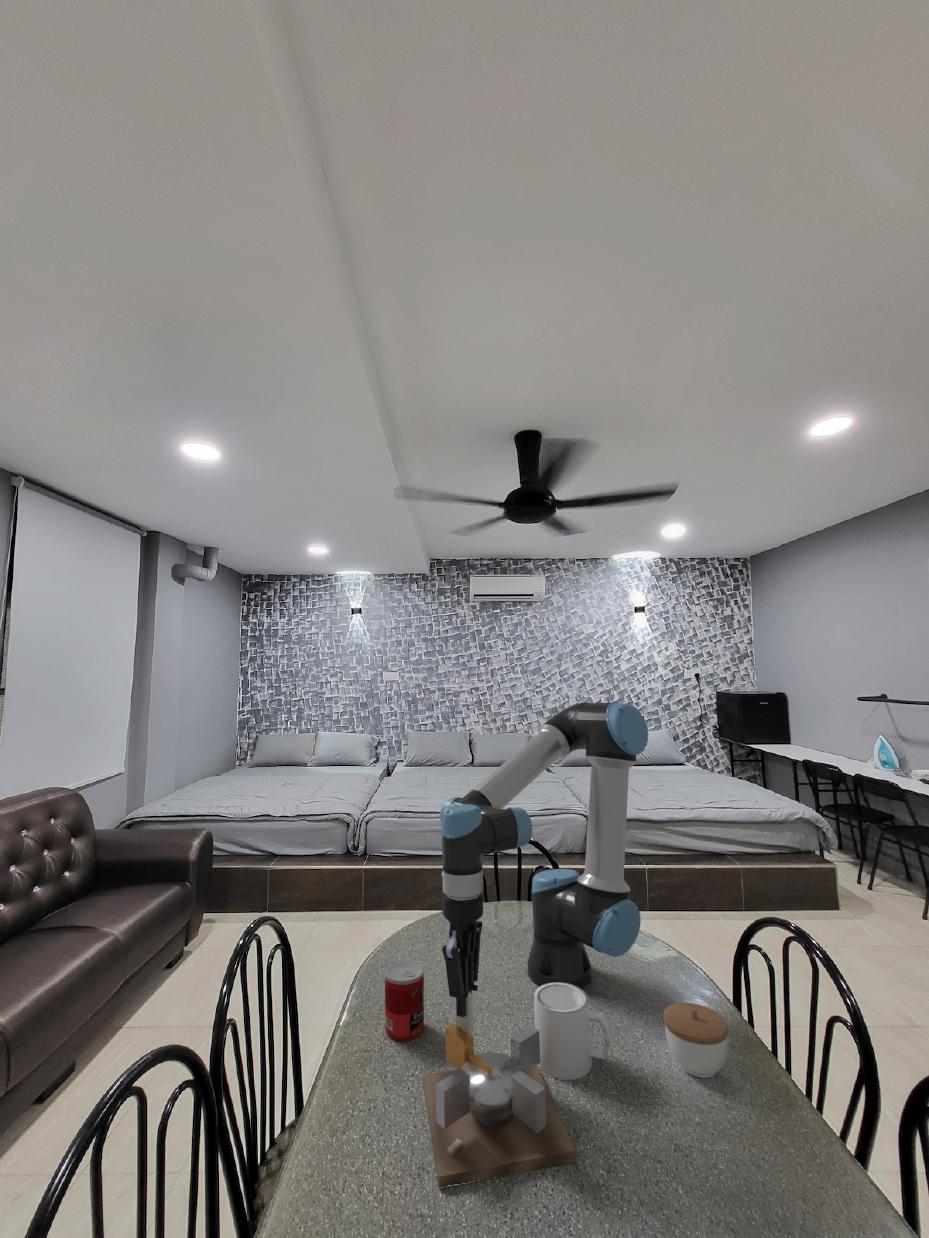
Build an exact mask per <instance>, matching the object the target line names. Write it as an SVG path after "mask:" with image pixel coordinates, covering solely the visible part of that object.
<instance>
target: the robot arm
mask: <svg viewBox="0 0 929 1238" xmlns="http://www.w3.org/2000/svg"><path fill="white" fill-rule="evenodd" d="M648 742H649V730H648V724H647V722H646V720H645V718H644V716H643V715H642V713H641V711H640V710H639V709H638V708H637V707H635V706H634V705H631V704H630V703H629V704H628V703H620V702H579V703H575V704H573V705H570V706H568V707H565V708H564V709H562V710H561V711H559V712H557V713H556V714H555V715H553V716H551V718H549V719H548V720H547V721H545V722H544V723H542V725H541V726H539V728H538V731H537V735H535V736H534V737H533V738H532V739H530V740H529V741H528V742H527V743H525V744H524V745H523V746H522V747H521V748H520V749H519V750H517V751H516V752H515V753H514V754H513V755H511V756H510V757H509V758H508V759H507V760H506V761H505V762H503V763H502V764H501V765H500V766H499V767H497V768H496V769H495V770H494V771H493V772H492V773H490V774H489V775H488V776H487V777H485V779H483V780H482V781H481V782H480V783H479V784H478V785H476V786H475V787H474V788H473V789H471V790H470V791H469V792H468V793H467V794H465V795H464V796H463V797H459V796H458V797H451V798H448V799H447V800H446V801H445V802H444V803H443V804H442V806H441V808H440V813H439V819H440V824H441V831H440V832H441V833H440V834H441V852H442V853H441V857H442V858H441V859H442V861H441V862H442V872H441V873H440V874H441V877H442V892H443V893H444V894H443V895H442V915H443V917H444V918H445V920H447V921H448V922H449V931H448V937H449V942H448V944H447V945H446V944H444V945H443V946H442V948H441V950H442V951H441V952H442V955H443V957H444V961H445V971H446V978H447V985H448V995H449V997H452V998H455V1024H456V1025H458V1026H459V1027H460V1028H462V1029H463V1030H465V1031H466V1032H467V1033H469V1034H470V1035H472V1033H473V1032H474V1005H473V1003H474V1002H473V1000H474V997H473V995H474V994H473V992H477V991H478V989H479V985H476V984H475V982H478V980H479V979H478V978H479V966H480V965H479V964H480V963H479V962H480V948H481V936H482V935H481V934H482V930H483V929H482V928H483V921H480V919H481V918H482V917H483V914H484V895H483V893H482V892H483V891H484V878H483V877H484V873H483V872H484V871H483V856H487V855H493V854H495V853H501V852H504V851H509V850H510V851H511V850H516V849H518V848H520V847H522V846H525V845H527V844H529V842H530V841H531V839H532V837H533V823H532V822H533V821H532V819H531V817H530V815H529V813H528V812H527V810H525V809H523V808H522V807H507V808H505V807H506V806H508V804H510V802H511V801H513V800H514V799H515V798H516V797H517V796H518V795H519V794H521V792H523V791H524V790H525V789H526V788H527V787H528V786H529V785H530V784H532V782H534V781H535V780H536V779H537V778H538V777H539V776H540V775H541V774H542V773H543V772H544V771H546V770H547V769H548V768H550V766H551V765H552V764H553V763H554V762H555V761H557V760H558V759H563V758H566V757H567V756H568V755H569V754H570V753H572V752H575V751H578V750H585V758H586V760H587V761H588V762H589V763H590V765H591V770H590V771H591V772H590V784H589V800H588V801H589V802H588V814H587V815H588V816H587V831H586V832H587V834H586V844H585V845H586V846H585V847H586V848H585V862H584V871H583V873H582V874H581V875H580V873H579V872H578V871H577V870H575V869H570V868H569V869H568V868H555V869H554V868H553V869H546V870H543V871H540V872H538V873H536V874H535V875H534V876H533V877H532V885H531V887H532V888H531V889H532V890H531V902H532V904H531V905H532V922H533V926H532V927H533V940H532V944H531V948H530V952H529V954H528V958H527V974H528V977H529V978H530V980H531V981H532V982H533V983H534V984H536V985H538V986H539V987H540V986H542V985H545V984H548V983H554V982H560V983H568V984H572V985H575V986H577V987H579V988H581V989H582V988H584V987H586V986H587V985H588V984H590V982H591V981H592V978H593V977H592V976H593V974H592V963H591V960H590V958H589V955H588V952H587V949H586V946H588V947H589V948H592V949H594V950H595V951H596V952H598V953H601V954H605V955H606V956H607V955H608V956H610V957H616V958H617V957H621V956H623V955H625V954H626V953H627V952H629V951H630V950H631V949H632V946H633V945H634V944H635V943H636V941H637V938H638V936H639V933H640V928H641V921H642V919H641V912H640V911H639V907H638V906H637V905H636V903H634V902H633V900H630V899H631V888H630V886H629V885H628V884H627V882H626V881H625V878H624V877H625V876H624V875H625V859H626V858H625V857H626V854H625V853H626V840H627V839H626V838H627V837H626V836H627V818H628V813H627V812H628V796H629V795H628V794H629V793H628V792H629V776H630V775H629V773H630V769H631V768H632V767H633V766H634V765H636V763H637V756H638V755H640V754H642V753H643V752H644V751H645V750H646V747H647V746H648Z"/></svg>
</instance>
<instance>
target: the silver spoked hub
mask: <svg viewBox="0 0 929 1238" xmlns="http://www.w3.org/2000/svg"><path fill="white" fill-rule="evenodd" d="M445 1060H447V1062H448V1063H450V1064H451V1065H452V1066H453V1067H455V1068H456V1070H458V1071H456V1072H455V1073H453V1074H452V1075H450V1076H448V1077H447V1078H445V1079H444V1080H442V1081H440V1082H439V1083H437V1084H436V1122H437V1123H438V1124H439V1125H440V1126H441V1127H442V1128H443V1129H444V1130H445V1129H446V1128H448V1127H449V1126H451V1125H452V1124H453V1123H455V1122H456V1121H458V1120H459V1119H461V1118H462V1117H463V1116H465V1115H466V1114H468V1113H469V1112H470V1108H472V1109H473V1110H475V1111H477V1112H480V1113H484V1114H491V1115H492V1114H502V1113H505V1112H508V1111H510V1110H512V1113H513V1114H514V1115H515V1116H516V1117H518V1118H519V1119H520V1120H521V1121H523V1122H524V1123H525V1124H526V1125H527V1126H529V1127H530V1128H531V1129H532V1130H534V1131H535V1132H536V1133H538V1132H540V1131H541V1130H542V1129H543V1128H544V1127H546V1101H545V1088H544V1087H543V1086H541V1085H540V1084H539V1083H537V1082H536V1081H534V1080H533V1079H532V1078H530V1077H529V1076H527V1075H526V1074H525V1073H526V1072H527V1071H529V1070H530V1069H532V1068H533V1067H534V1066H538V1064H539V1063H540V1039H539V1030H538V1029H536V1028H535V1026H533V1025H529V1026H527V1027H526V1028H523V1029H522V1030H520V1031H519V1032H517V1033H516V1034H514V1035H512V1036H511V1037H510V1056H509V1055H507V1054H504V1053H500V1052H493V1051H492V1052H491V1051H490V1052H481V1053H479V1054H476V1053H474V1036H473V1035H472V1034H471V1035H470V1034H469V1033H467V1032H466V1031H465V1030H463V1029H462V1028H460V1027H459V1026H458V1025H456V1022H453V1024H450V1025H449V1026H447V1027H445Z"/></svg>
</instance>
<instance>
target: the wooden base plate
mask: <svg viewBox="0 0 929 1238" xmlns="http://www.w3.org/2000/svg"><path fill="white" fill-rule="evenodd" d="M538 1068H539V1067H538V1065H536V1066H534V1067H533V1068H532V1069H530V1070H529V1071H527V1072H526V1073H525V1074H526V1075H527V1076H529V1077H530V1078H532V1079H533V1080H534V1081H536V1082H537V1083H539V1084H540V1085H541V1086H543V1087H544V1088H545V1101H546V1127H544V1128H543V1129H542V1130H541V1131H540V1132H538V1133H536V1132H535V1131H534V1130H532V1129H531V1128H530V1127H529V1126H527V1125H526V1124H525V1123H524V1122H523V1121H521V1120H520V1119H519V1118H518V1117H516V1116H515V1115H514V1114H513V1113H512V1110H510V1111H508V1112H505V1113H502V1114H492V1115H491V1114H484V1113H480V1112H477V1111H475V1110H473V1109H472V1108H470V1112H469V1113H468V1114H466V1115H465V1116H463V1117H462V1118H461V1119H459V1120H458V1121H456V1122H455V1123H453V1124H452V1125H451V1126H449V1127H448V1128H446V1129H445V1130H444V1129H443V1128H442V1127H441V1126H440V1125H439V1124H438V1123H437V1122H436V1084H437V1083H439V1082H440V1081H442V1080H444V1079H445V1078H447V1077H448V1076H450V1075H452V1074H453V1073H455V1072H456V1071H458V1069H454V1070H453V1069H452V1070H447V1071H440V1072H435V1073H429V1074H423V1075H422V1086H423V1087H422V1088H423V1093H424V1098H425V1106H426V1112H427V1119H428V1125H429V1132H430V1133H429V1134H430V1138H431V1146H432V1151H433V1158H434V1164H435V1171H436V1177H437V1184H439V1185H438V1189H439V1188H441V1187H446V1186H448V1185H454V1184H462V1183H468V1182H473V1181H478V1180H483V1181H487V1180H488V1181H489V1180H493V1179H495V1178H494V1177H498V1178H502V1177H501V1176H504V1177H506V1176H505V1175H509V1176H511V1175H510V1174H514V1175H517V1174H518V1173H519V1174H523V1173H522V1172H524V1173H528V1171H529V1172H534V1171H539V1170H544V1169H548V1168H553V1167H554V1168H556V1167H559V1166H565V1165H570V1164H574V1163H577V1150H576V1148H575V1146H574V1144H573V1141H572V1139H571V1137H570V1135H569V1133H568V1131H567V1128H566V1126H565V1124H564V1122H563V1120H562V1118H561V1115H560V1113H559V1111H558V1109H557V1107H556V1104H555V1103H554V1100H553V1099H552V1096H551V1094H550V1092H549V1090H548V1087H547V1086H546V1083H545V1081H544V1078H543V1077H542V1075H541V1073H540V1070H539V1069H538ZM532 1170H533V1171H532ZM526 1171H527V1172H526ZM516 1173H517V1174H516ZM519 1174H518V1175H519ZM490 1178H491V1179H490ZM492 1178H493V1179H492ZM478 1182H479V1181H478ZM473 1183H474V1182H473ZM468 1184H469V1183H468Z"/></svg>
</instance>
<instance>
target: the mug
mask: <svg viewBox="0 0 929 1238" xmlns="http://www.w3.org/2000/svg"><path fill="white" fill-rule="evenodd" d="M533 994H534V995H533V1001H534V1002H533V1003H534V1005H533V1006H534V1007H533V1009H534V1028H536V1029H538V1030H539V1039H540V1063H539V1064H537V1067H538V1068H539V1069H540V1070H541V1071H543V1072H544V1073H545V1074H547V1075H549V1076H550V1077H552V1078H557V1079H558V1080H568V1081H569V1080H576V1079H578V1080H579V1079H580V1078H583V1077H584V1076H586V1075H588V1074H589V1072H591V1069H592V1066H593V1059H595V1060H599V1061H605V1062H606V1061H607V1058H608V1055H609V1050H610V1045H611V1040H610V1039H611V1037H610V1036H611V1035H610V1026H609V1024H608V1022H607V1019H606V1018H605V1015H604V1013H603V1012H602V1011H596V1010H591V1009H590V996H589V995H588V993H587V992H586V991H585V990H584V989H582V988H579V987H577V986H575V985H572V984H568V983H560V982H554V983H548V984H545V985H542V986H540V985H539V986H538V988H536V989H535V991H534V993H533ZM591 1022H596V1023H599V1025H600V1027H601V1030H602V1031H603V1034H604V1035H603V1036H604V1046H603V1048H598V1047H593V1046H592V1034H591V1033H592V1032H591V1029H592V1028H591Z"/></svg>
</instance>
